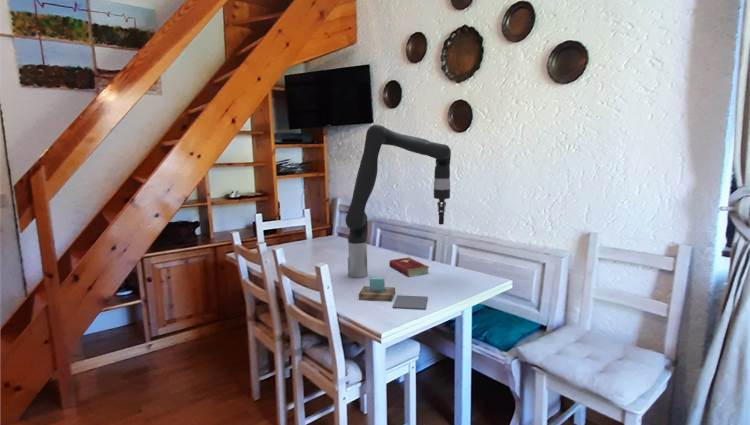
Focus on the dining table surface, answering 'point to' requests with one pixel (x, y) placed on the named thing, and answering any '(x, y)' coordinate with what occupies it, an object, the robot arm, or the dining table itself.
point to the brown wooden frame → (377, 294)
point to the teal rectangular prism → (377, 284)
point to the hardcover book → (409, 266)
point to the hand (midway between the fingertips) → (441, 222)
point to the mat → (410, 302)
